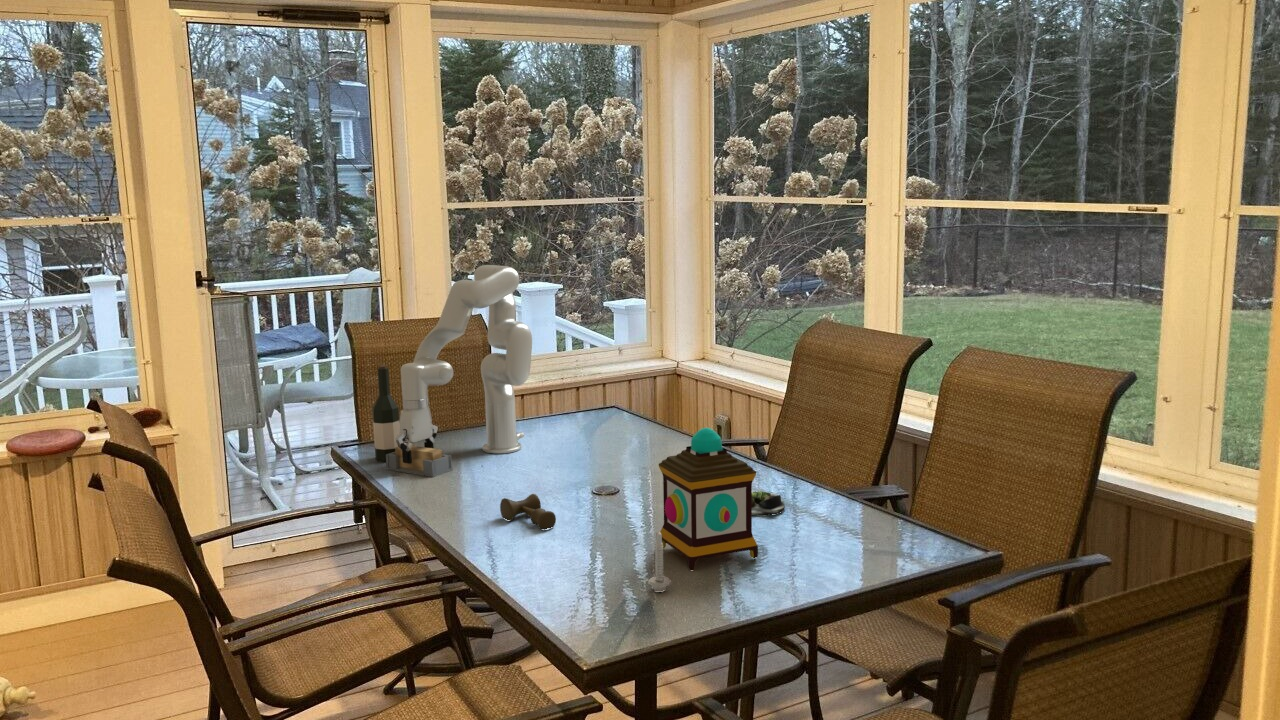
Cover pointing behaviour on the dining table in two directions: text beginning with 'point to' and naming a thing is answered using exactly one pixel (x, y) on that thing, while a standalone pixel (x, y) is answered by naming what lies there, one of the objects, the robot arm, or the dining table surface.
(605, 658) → the dining table surface
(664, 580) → the screw
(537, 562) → the dining table surface
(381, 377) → the wine bottle
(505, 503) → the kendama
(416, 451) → the slat
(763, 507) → the salad plate
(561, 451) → the dining table surface
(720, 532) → the decorative lantern
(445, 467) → the end-cap rail
